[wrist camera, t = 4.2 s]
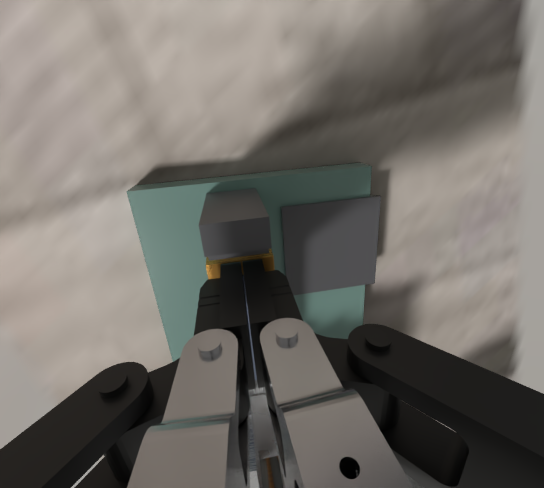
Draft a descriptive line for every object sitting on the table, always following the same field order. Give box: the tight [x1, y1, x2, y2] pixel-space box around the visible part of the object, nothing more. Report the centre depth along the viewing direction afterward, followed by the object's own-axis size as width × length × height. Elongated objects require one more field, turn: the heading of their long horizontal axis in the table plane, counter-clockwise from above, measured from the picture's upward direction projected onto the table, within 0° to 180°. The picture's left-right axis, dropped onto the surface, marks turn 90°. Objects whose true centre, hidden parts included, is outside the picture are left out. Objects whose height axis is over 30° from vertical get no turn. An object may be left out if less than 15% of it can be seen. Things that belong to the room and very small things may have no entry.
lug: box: [199, 188, 272, 261], centre depth 10 cm, size 2×2×4 cm
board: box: [127, 163, 381, 362], centre depth 16 cm, size 16×10×1 cm, turn 4°
